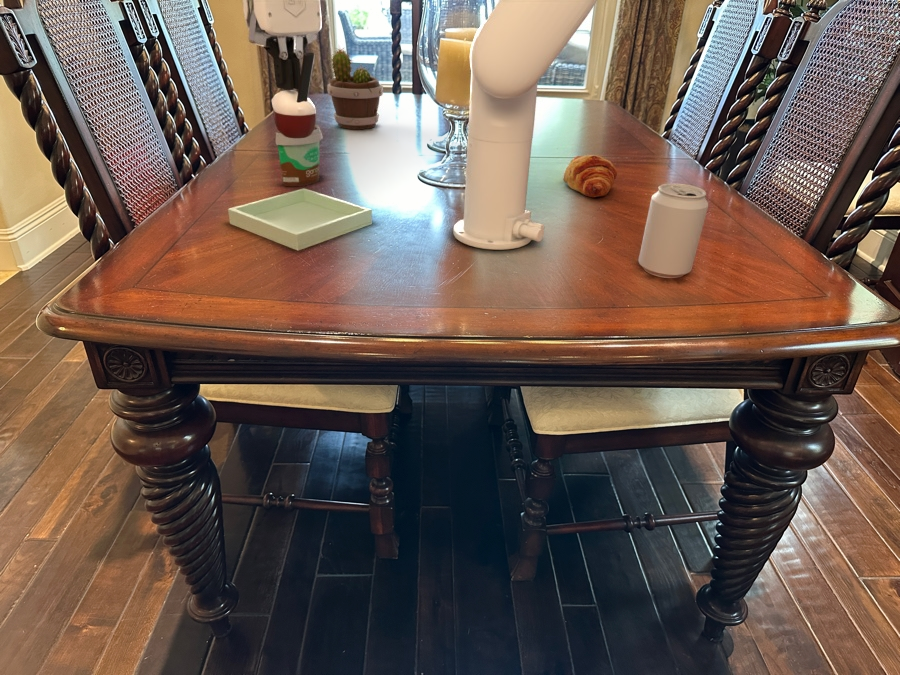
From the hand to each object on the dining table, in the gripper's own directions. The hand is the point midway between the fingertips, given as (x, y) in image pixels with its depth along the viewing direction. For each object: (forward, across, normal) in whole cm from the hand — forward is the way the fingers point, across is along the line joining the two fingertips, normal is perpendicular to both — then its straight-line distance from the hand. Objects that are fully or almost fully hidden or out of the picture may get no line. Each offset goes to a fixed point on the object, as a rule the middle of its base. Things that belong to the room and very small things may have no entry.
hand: (288, 87), depth 88 cm
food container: (+21, +17, +18) cm, 33 cm away
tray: (+21, 0, 0) cm, 21 cm away
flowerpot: (+21, +60, +48) cm, 80 cm away
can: (+21, +23, -52) cm, 61 cm away
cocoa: (+7, 0, 0) cm, 7 cm away
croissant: (+21, +53, -25) cm, 62 cm away
